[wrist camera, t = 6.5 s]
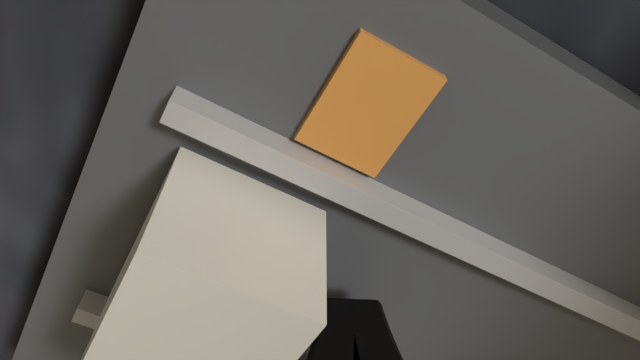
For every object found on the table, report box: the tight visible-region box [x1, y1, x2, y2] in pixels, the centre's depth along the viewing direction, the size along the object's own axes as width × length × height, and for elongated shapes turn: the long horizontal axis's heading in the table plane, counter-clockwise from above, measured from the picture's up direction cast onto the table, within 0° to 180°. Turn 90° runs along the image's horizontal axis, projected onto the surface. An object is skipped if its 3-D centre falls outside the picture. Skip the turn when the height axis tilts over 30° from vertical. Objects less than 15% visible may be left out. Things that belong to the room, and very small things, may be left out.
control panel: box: [12, 0, 640, 360], centre depth 14 cm, size 18×14×3 cm
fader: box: [81, 147, 327, 360], centre depth 11 cm, size 3×4×3 cm
